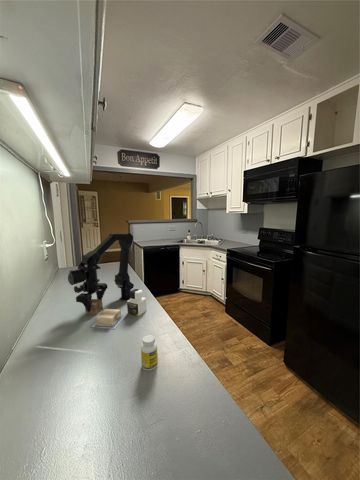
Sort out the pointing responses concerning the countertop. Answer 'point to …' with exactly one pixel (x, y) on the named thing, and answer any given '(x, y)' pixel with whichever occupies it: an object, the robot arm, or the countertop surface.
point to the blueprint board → (109, 326)
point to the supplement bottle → (149, 353)
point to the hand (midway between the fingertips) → (94, 307)
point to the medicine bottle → (136, 303)
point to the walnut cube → (95, 307)
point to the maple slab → (108, 317)
